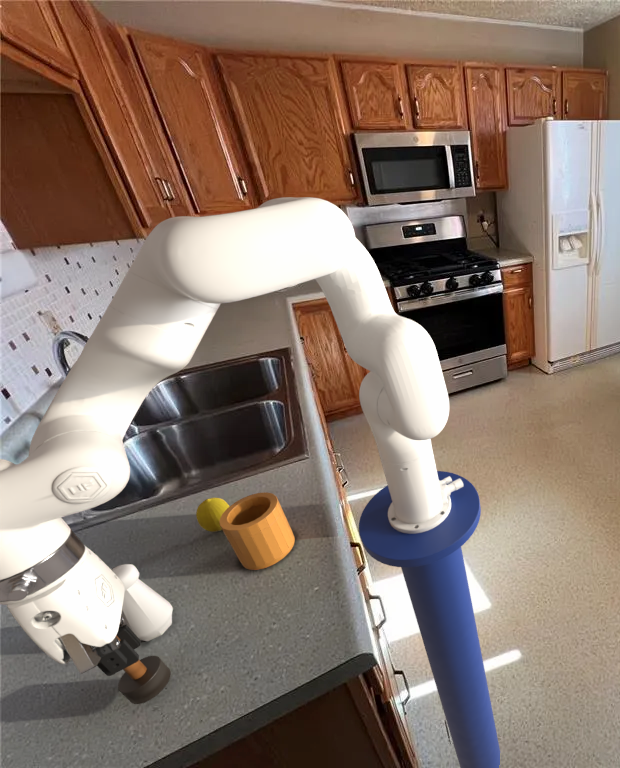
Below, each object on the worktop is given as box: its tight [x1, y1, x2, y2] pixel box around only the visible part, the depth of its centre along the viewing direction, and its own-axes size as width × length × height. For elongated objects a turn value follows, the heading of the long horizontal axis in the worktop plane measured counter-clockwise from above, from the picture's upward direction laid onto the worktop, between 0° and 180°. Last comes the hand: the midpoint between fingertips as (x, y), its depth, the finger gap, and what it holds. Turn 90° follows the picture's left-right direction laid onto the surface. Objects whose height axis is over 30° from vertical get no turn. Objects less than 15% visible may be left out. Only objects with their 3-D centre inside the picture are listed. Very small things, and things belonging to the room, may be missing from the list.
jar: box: [219, 491, 296, 571], centre depth 76 cm, size 9×9×10 cm
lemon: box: [195, 497, 231, 533], centre depth 82 cm, size 6×6×8 cm
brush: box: [116, 635, 172, 705], centre depth 54 cm, size 5×5×12 cm
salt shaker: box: [110, 563, 174, 642], centre depth 63 cm, size 6×6×13 cm
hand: (125, 658), depth 53 cm, fingers closed on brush
